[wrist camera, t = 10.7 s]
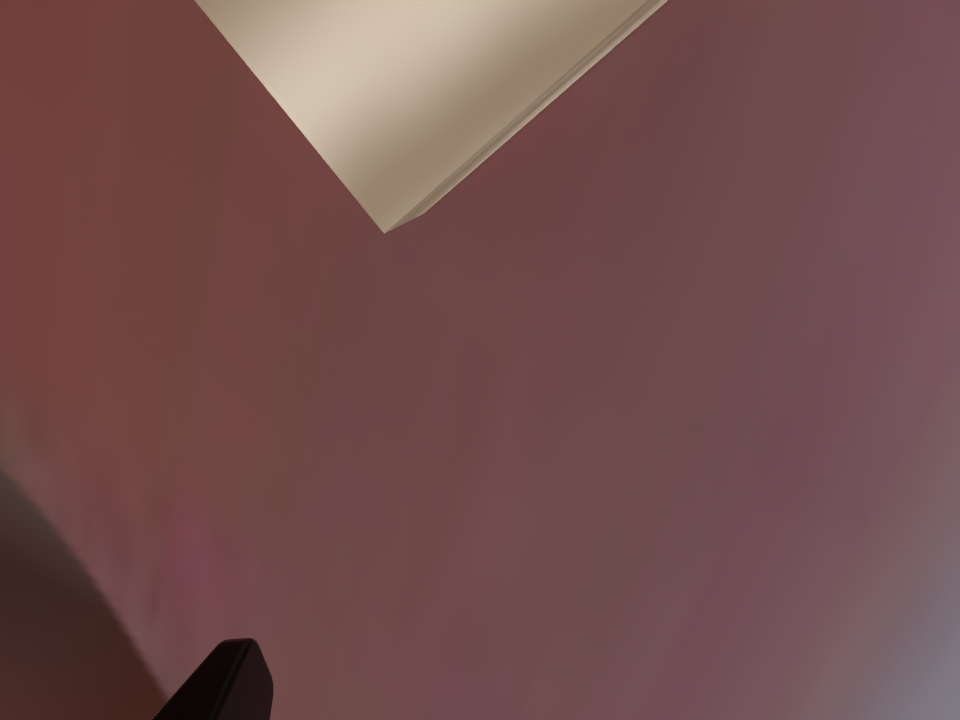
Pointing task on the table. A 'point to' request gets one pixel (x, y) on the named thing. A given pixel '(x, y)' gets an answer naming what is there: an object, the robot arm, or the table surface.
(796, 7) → the table surface
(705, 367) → the table surface
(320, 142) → the base block
